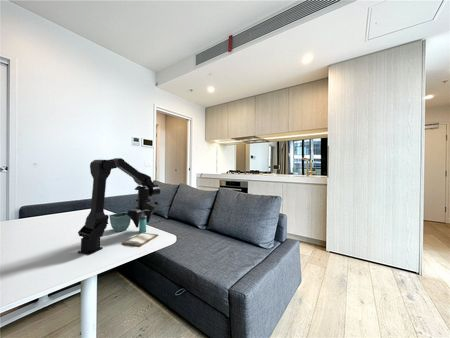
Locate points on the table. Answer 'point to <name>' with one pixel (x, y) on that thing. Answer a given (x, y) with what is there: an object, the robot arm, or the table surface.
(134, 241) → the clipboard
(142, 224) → the teal capped bottle
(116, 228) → the flower pot
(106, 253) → the table surface
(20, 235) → the table surface
